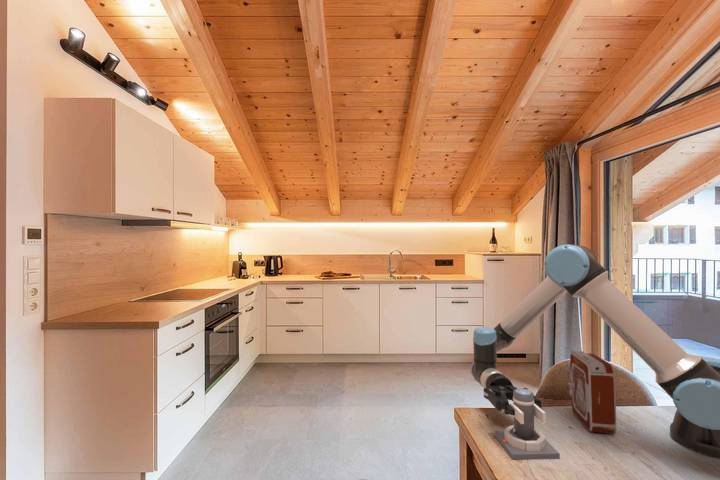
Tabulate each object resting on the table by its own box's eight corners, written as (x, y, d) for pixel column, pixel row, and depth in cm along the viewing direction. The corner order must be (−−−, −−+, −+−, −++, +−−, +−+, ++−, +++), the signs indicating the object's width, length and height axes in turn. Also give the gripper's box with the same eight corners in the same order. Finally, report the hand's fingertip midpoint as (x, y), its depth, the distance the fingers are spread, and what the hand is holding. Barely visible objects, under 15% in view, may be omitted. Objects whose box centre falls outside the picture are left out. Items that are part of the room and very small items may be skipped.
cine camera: (591, 407, 118) (589, 346, 119) (622, 437, 99) (620, 364, 100) (561, 405, 120) (559, 345, 121) (586, 434, 101) (583, 363, 102)
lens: (528, 428, 98) (527, 387, 98) (538, 438, 93) (537, 395, 93) (509, 429, 98) (508, 387, 98) (518, 439, 93) (517, 395, 93)
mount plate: (535, 434, 101) (535, 422, 101) (559, 458, 89) (559, 445, 89) (493, 435, 101) (493, 423, 101) (512, 459, 89) (512, 446, 89)
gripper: (524, 395, 114) (568, 432, 90) (468, 396, 113) (498, 434, 90) (524, 372, 114) (567, 402, 91) (468, 373, 114) (498, 404, 90)
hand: (533, 418), depth 90 cm, fingers closed on lens, 5 cm apart
